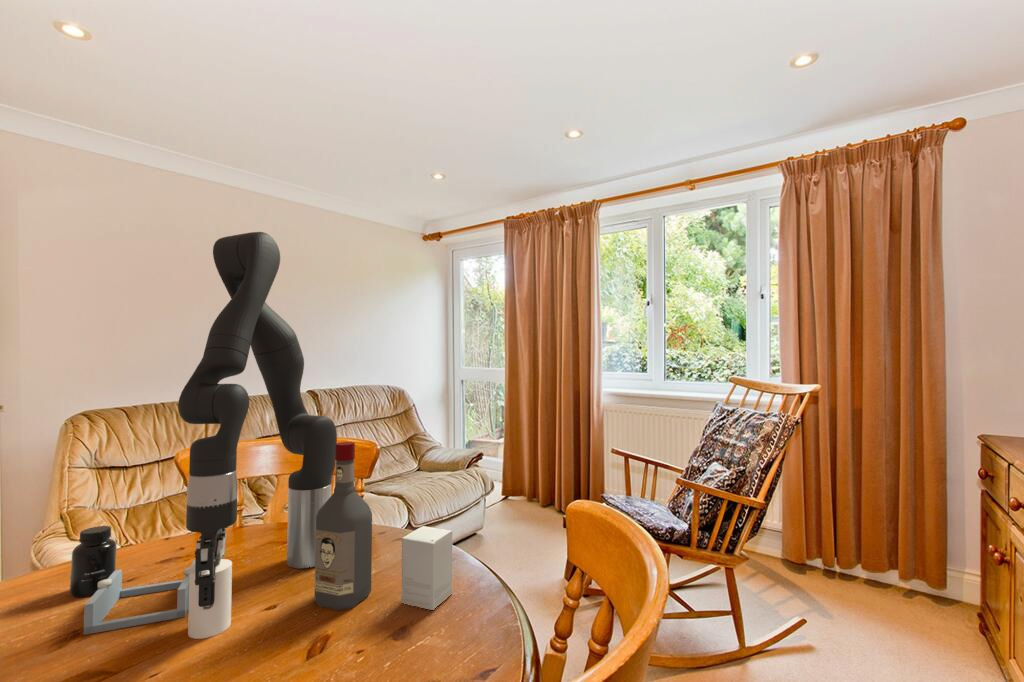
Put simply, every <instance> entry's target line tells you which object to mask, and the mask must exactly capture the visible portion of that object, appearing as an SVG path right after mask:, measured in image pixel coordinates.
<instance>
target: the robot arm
mask: <svg viewBox="0 0 1024 682" xmlns="http://www.w3.org/2000/svg"><path fill="white" fill-rule="evenodd" d="M212 247H213V248H212V257H213V261H214V265H215V268H216V269H217V273H218V274H219V277H220V278H221V281H222V283H223V285H224V287H225V289H226V291H227V293H228V295H229V297H230V300H229V301H228V303H226V305H225V307H224V308H223V309H222V310H221V311H220V312H219V314H218V315H217V316H216V319H214V322H213V323H212V325H211V327H210V330H209V333H208V335H207V339H206V344H205V348H204V351H203V356H202V358H201V360H200V362H199V363H198V364H197V366H196V368H195V369H194V371H193V372H192V375H191V376H190V377H189V379H188V381H187V383H186V384H185V385H184V387H183V389H182V391H181V393H180V396H179V398H178V403H177V410H178V414H179V416H180V418H181V420H182V421H184V422H185V423H187V424H191V425H219V428H218V431H217V433H216V434H215V435H212V436H211V435H210V436H207V437H203V438H199V439H196V440H194V441H193V442H192V443H191V445H190V447H189V462H188V463H189V464H188V465H189V466H188V467H189V471H188V482H187V487H186V515H185V517H186V518H185V527H186V530H187V531H189V532H192V533H198V534H200V535H199V539H198V540H197V541H196V543H195V551H194V556H195V585H199V602H198V605H199V606H200V607H203V606H209V605H212V604H213V603H214V601H215V580H216V569H217V567H218V566H219V565H220V562H221V559H225V558H224V557H225V554H226V541H227V532H226V529H227V528H228V527H231V526H233V525H234V524H235V523H236V522H237V519H238V488H239V487H238V485H239V484H238V474H237V463H238V462H237V461H238V459H237V457H238V456H237V454H238V444H239V440H240V435H241V432H242V429H243V425H244V423H245V421H246V418H247V417H246V416H247V414H248V411H249V407H250V397H249V393H248V392H247V390H246V388H245V387H244V386H243V385H241V384H238V383H220V382H221V381H222V380H224V379H227V378H230V377H234V376H239V375H240V374H242V373H243V372H244V371H245V369H246V367H247V362H248V358H249V353H250V349H251V351H252V354H253V357H254V359H255V362H256V364H257V367H258V370H259V371H260V374H261V377H262V379H263V382H264V385H265V388H266V391H267V394H268V396H269V398H270V399H269V400H270V403H271V406H272V408H273V409H272V410H273V411H274V417H275V420H276V425H277V429H278V434H279V437H280V440H281V443H282V445H283V447H284V449H285V450H287V451H288V452H289V453H291V454H294V455H299V456H302V465H301V467H300V469H298V470H296V471H293V472H291V473H290V474H289V476H288V484H287V487H288V489H287V491H288V493H287V495H288V496H287V498H288V499H287V539H286V542H287V545H286V550H287V551H286V565H287V566H288V567H290V568H293V569H308V568H309V567H310V568H315V548H316V516H317V513H318V511H319V509H320V508H321V507H322V506H323V505H324V504H325V503H326V501H327V500H328V499H329V498H330V497H331V496H332V477H333V474H334V472H335V470H336V460H335V449H336V443H338V433H337V432H338V431H337V427H336V425H335V422H334V421H333V420H332V419H331V418H330V417H328V416H323V415H311V414H310V415H309V413H308V411H307V409H306V407H305V404H304V402H303V399H302V398H303V397H302V395H301V384H302V379H303V375H304V370H305V369H304V368H305V359H304V358H305V357H304V355H303V351H302V347H301V345H300V342H299V340H298V335H297V333H296V332H295V331H294V329H293V328H292V327H291V325H290V324H289V323H288V322H287V321H286V320H285V319H284V318H283V317H282V316H280V315H279V314H278V313H277V312H276V311H275V310H273V308H271V306H269V305H268V303H267V302H266V301H267V298H268V296H269V293H270V291H271V289H272V286H273V285H274V281H275V278H276V277H277V274H278V271H279V268H280V265H281V251H280V248H279V245H278V244H277V242H276V240H275V239H274V237H272V236H271V235H270V234H268V233H266V232H263V231H253V232H246V233H238V234H234V235H227V236H223V237H220V238H218V239H217V240H216V241H215V242H214V244H213V246H212ZM214 560H215V561H214ZM205 570H209V572H210V573H209V575H206V576H203V571H205Z"/></svg>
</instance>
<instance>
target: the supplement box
mask: <svg viewBox="0 0 1024 682" xmlns="http://www.w3.org/2000/svg"><path fill="white" fill-rule="evenodd" d="M453 589H454V588H453V530H449V529H442V528H437V527H432V526H426V525H422V526H420V527H419V528H417V529H415V530H414V531H412V532H410V533H408V534H407V535H405V536H403V537H401V604H402V603H405V604H409V605H413V606H418V607H422V608H426V609H430V610H433V609H434V608H436V607H437V606H438V605H439V604H440V603H441V602H442V601H444V600H445V599H446V598H447V597H448V596H449V595H450V594H451V593H452V592H453ZM405 604H404V605H405ZM409 605H408V606H409ZM413 606H412V607H413ZM437 608H438V607H437ZM437 608H436V609H437Z"/></svg>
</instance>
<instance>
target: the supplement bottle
mask: <svg viewBox="0 0 1024 682" xmlns="http://www.w3.org/2000/svg"><path fill="white" fill-rule="evenodd" d="M78 543H79V544H78V545H77V546H75V547H74V549H73V550H72V553H71V568H70V585H69V586H70V587H69V593H70V595H71V596H73V597H75V598H85V597H86V598H87V597H92V596H93V595H94V594H95V592H96V591H97V590H98V589H99V588H98V582H99V581H102V580H105V579H108V578H109V576H110V575H111V574H112V573H113V572H114V571H116V567H117V561H116V560H117V546H118V545H117V543H116V541H115V540H114V539H112V527H111V526H109V525H98V526H92V527H89V528H84V529H83V530H81V531H80V532H79V539H78Z"/></svg>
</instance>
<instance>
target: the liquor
mask: <svg viewBox="0 0 1024 682" xmlns="http://www.w3.org/2000/svg"><path fill="white" fill-rule="evenodd" d="M355 457H356V443H355V441H341V442H337V443H336V449H335V460H336V461H335V484H334V485H335V486H334V488H333V493H332V494H331V497H330V498H329V499H328V500H327V501H326V503H325V504H324V505H323V506H322V507H321V508H320V509H319V511H318V513H317V516H316V548H315V567H314V598H315V599H314V601H315V603H316V605H317V607H322V608H324V609H326V608H327V609H331V610H336V611H343V610H348V609H353V608H355V607H356V606H357V605H358V604H360V603H361V602H362V601H363V600H365V599H366V598H367V597H369V596H370V594H371V591H372V565H373V564H372V561H373V560H372V559H373V558H372V557H373V556H372V553H373V551H372V550H373V547H372V546H373V544H372V543H373V512H372V510H371V508H370V506H369V504H368V503H367V502H366V500H365V499H364V498H362V497H361V496H360V495H359V493H358V492H356V487H355V459H356V458H355ZM368 595H369V596H368ZM365 597H366V598H365ZM364 598H365V599H364ZM360 601H361V602H360ZM359 602H360V603H359ZM355 605H356V606H355Z"/></svg>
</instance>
